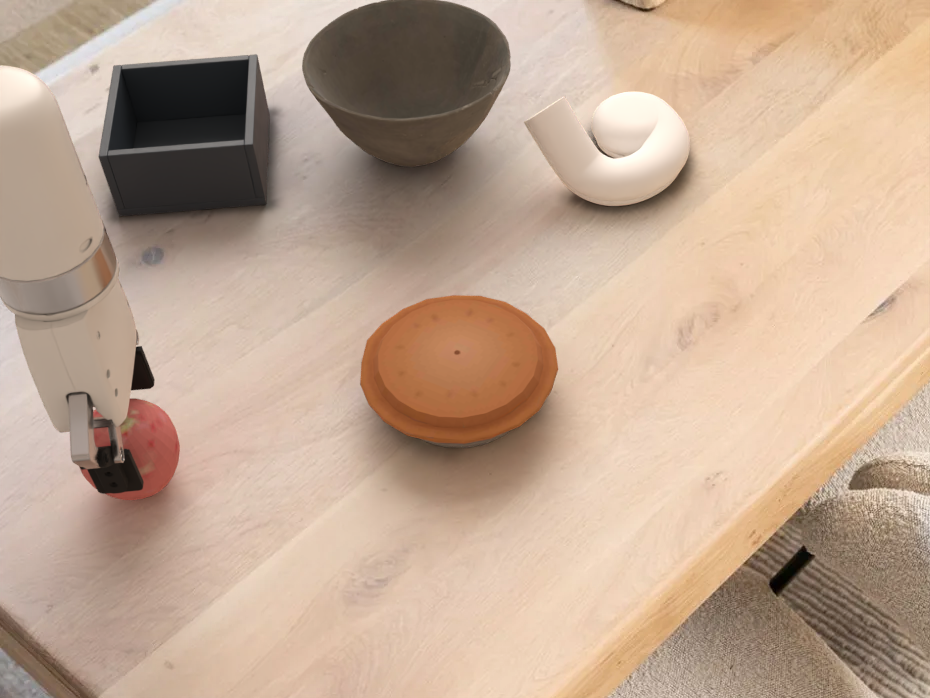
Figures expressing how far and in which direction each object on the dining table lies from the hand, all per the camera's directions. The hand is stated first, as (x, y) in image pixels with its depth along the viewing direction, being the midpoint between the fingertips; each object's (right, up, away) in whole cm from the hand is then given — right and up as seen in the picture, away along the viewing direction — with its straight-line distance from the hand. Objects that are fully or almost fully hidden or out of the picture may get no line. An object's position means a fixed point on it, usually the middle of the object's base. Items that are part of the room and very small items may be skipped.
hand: (128, 436), depth 91 cm
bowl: (+20, +29, +28) cm, 45 cm away
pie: (+24, +4, +9) cm, 26 cm away
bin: (-1, +27, +27) cm, 39 cm away
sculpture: (+39, +27, +26) cm, 54 cm away
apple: (0, -3, +5) cm, 6 cm away
